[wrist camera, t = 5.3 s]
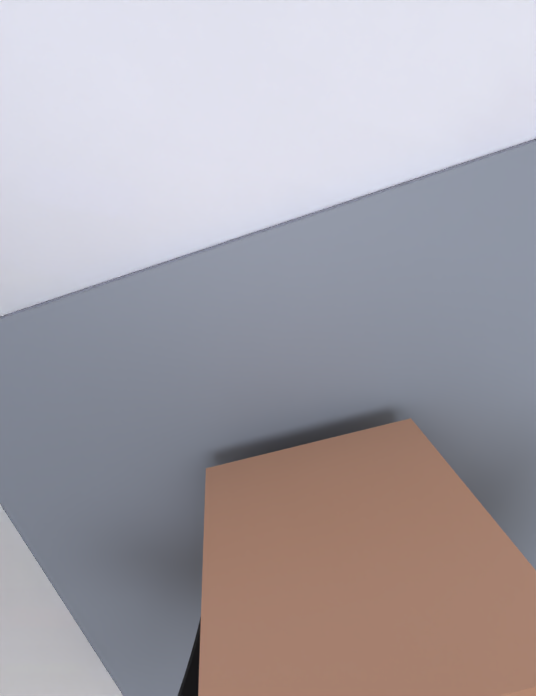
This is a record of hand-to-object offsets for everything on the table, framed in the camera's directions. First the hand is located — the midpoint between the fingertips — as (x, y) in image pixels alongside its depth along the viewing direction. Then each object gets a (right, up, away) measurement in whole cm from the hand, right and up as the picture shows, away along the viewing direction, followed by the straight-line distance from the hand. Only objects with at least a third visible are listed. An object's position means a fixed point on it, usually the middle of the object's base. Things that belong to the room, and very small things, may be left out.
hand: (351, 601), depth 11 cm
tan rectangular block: (0, +1, +2) cm, 2 cm away
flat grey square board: (0, +1, +3) cm, 4 cm away
